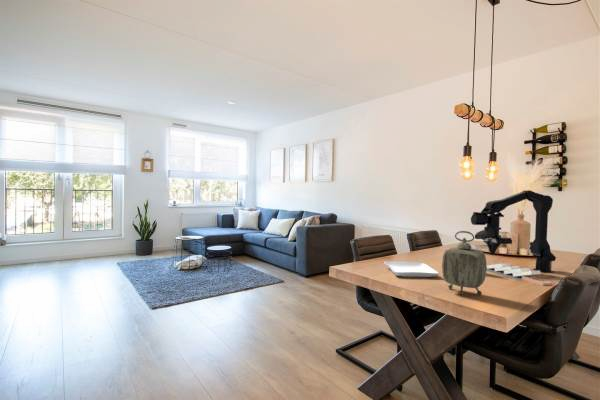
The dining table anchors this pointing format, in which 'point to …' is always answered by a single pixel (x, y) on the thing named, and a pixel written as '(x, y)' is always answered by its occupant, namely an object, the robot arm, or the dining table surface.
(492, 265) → the domino
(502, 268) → the domino
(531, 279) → the domino
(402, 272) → the salad plate
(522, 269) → the domino
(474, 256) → the tabletop clock
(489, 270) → the mat
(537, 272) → the domino
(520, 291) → the dining table surface
